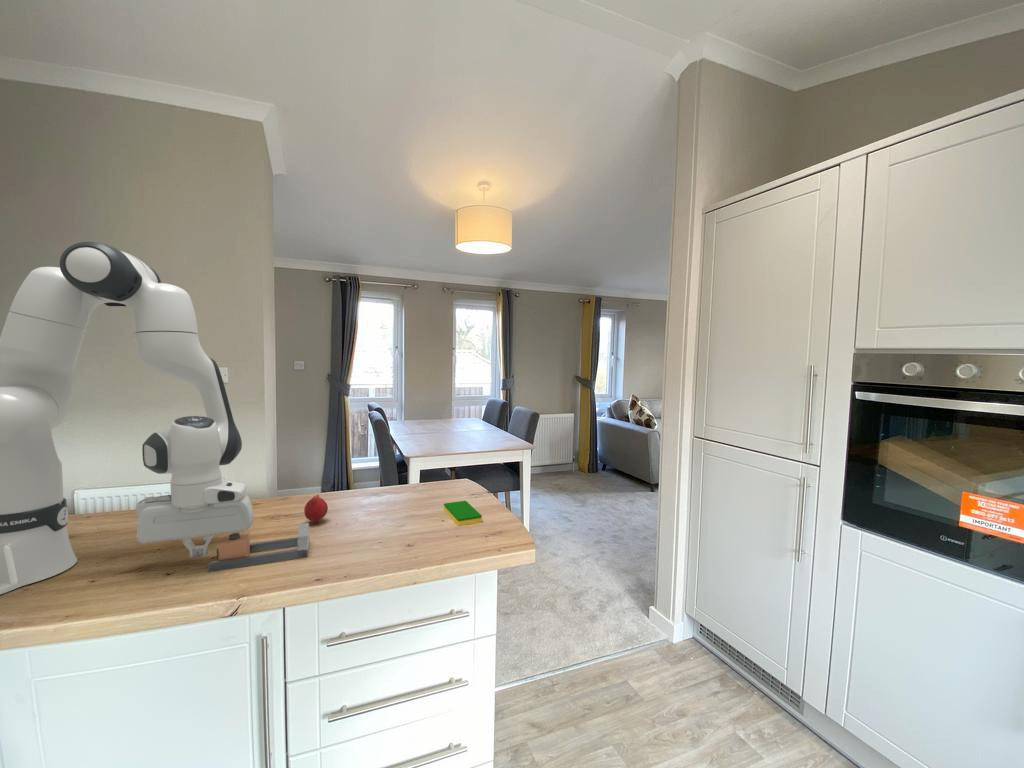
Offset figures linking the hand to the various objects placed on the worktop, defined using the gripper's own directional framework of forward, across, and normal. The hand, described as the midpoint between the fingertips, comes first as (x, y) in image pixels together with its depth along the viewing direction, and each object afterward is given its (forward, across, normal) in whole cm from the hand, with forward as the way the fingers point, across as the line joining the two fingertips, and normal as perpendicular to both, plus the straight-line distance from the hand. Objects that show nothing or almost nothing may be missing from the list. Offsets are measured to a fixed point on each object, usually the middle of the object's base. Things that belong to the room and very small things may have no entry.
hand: (199, 555), depth 91 cm
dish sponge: (+3, +62, +8) cm, 62 cm away
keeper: (+2, +6, 0) cm, 7 cm away
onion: (+3, +22, +17) cm, 28 cm away
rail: (+2, +12, 0) cm, 12 cm away
